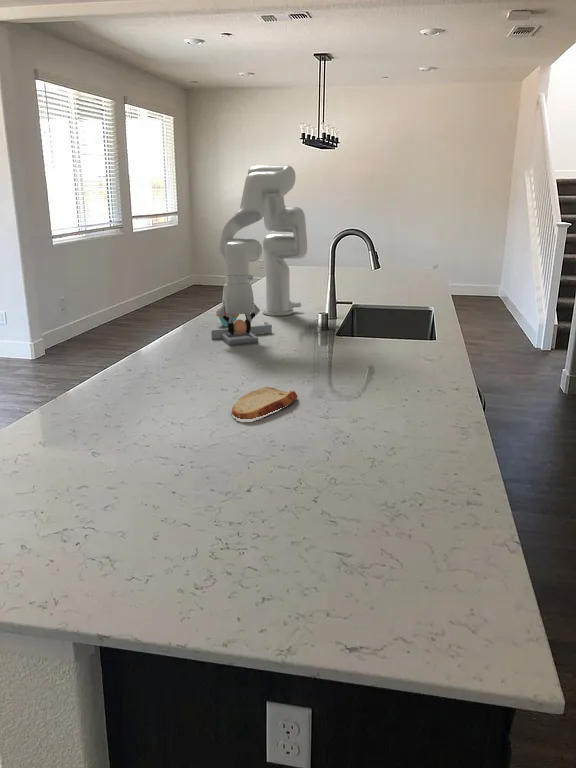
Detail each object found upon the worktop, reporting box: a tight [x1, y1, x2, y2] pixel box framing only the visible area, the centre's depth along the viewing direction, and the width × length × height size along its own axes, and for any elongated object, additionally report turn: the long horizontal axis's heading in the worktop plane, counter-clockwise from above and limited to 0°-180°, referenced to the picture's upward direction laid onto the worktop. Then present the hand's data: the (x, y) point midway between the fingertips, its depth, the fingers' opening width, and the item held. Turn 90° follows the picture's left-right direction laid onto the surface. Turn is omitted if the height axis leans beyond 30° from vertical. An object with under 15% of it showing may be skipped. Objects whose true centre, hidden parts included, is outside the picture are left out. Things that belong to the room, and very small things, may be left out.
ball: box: [233, 319, 247, 334], centre depth 217 cm, size 5×5×5 cm
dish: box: [221, 332, 259, 347], centre depth 218 cm, size 10×10×2 cm
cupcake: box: [215, 308, 240, 328], centre depth 240 cm, size 9×8×12 cm
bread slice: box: [231, 386, 298, 419], centre depth 156 cm, size 18×18×4 cm
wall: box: [210, 321, 273, 340], centre depth 228 cm, size 22×6×3 cm, turn 111°
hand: (239, 332), depth 218 cm, fingers closed on ball, 4 cm apart
